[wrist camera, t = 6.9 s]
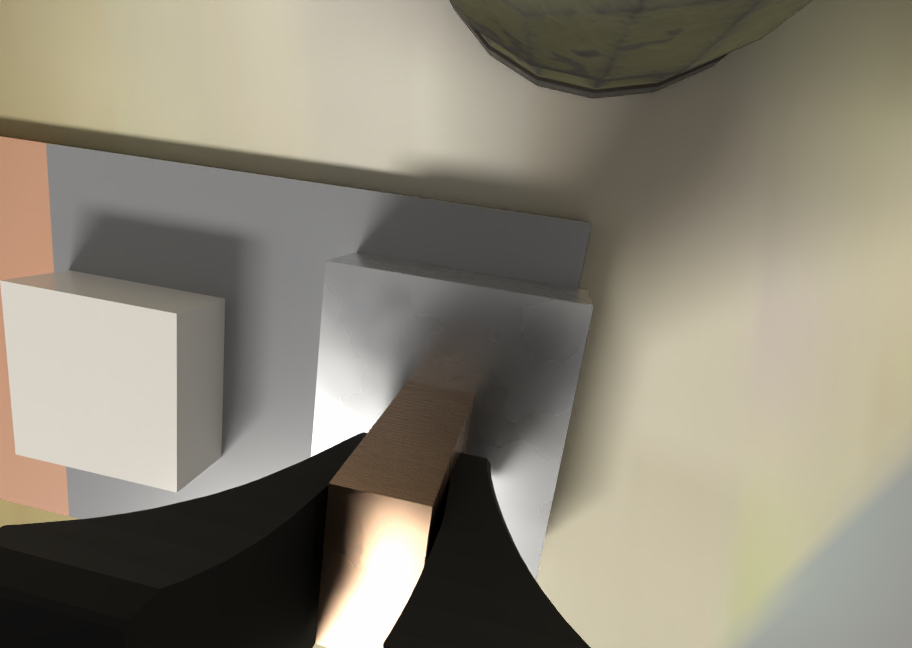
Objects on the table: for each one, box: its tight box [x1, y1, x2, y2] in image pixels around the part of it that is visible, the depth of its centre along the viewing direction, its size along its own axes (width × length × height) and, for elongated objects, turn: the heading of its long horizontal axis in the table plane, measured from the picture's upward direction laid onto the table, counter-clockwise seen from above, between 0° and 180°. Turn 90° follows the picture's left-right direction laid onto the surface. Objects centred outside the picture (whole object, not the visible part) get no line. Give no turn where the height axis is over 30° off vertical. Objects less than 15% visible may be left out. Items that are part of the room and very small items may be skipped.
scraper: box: [311, 252, 594, 648], centre depth 11 cm, size 6×8×6 cm
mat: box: [0, 136, 592, 519], centre depth 16 cm, size 23×12×1 cm, turn 82°
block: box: [0, 270, 225, 493], centre depth 15 cm, size 5×5×2 cm
